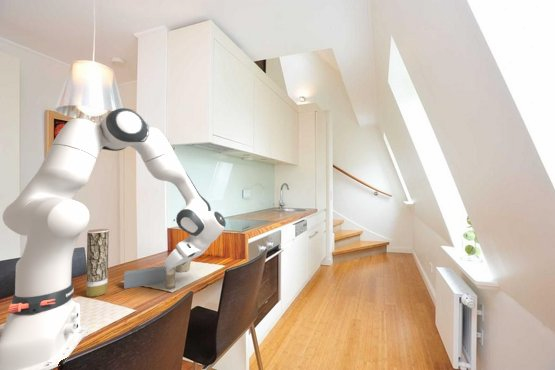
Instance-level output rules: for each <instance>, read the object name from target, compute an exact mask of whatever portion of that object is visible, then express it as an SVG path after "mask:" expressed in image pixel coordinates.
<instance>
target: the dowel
mask: <svg viewBox="0 0 555 370" xmlns="http://www.w3.org/2000/svg"><path fill="white" fill-rule="evenodd" d="M165 266H166V265H165ZM166 268H167V266H166ZM175 288H176V267H173V269H172V270H171V271H169V272H167V271H166V282H165V289H166V290H172V289H175Z"/></svg>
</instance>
